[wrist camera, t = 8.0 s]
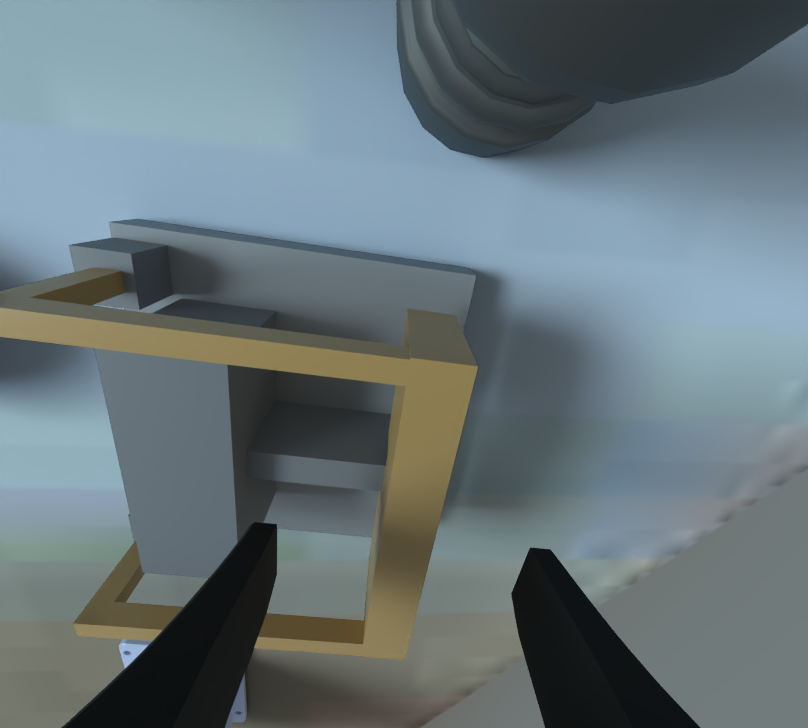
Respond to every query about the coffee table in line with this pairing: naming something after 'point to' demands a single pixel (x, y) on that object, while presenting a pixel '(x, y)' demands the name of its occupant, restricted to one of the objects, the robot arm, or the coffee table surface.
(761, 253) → the coffee table surface
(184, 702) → the robot arm
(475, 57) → the candle holder
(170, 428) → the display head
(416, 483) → the tan bracket frame
